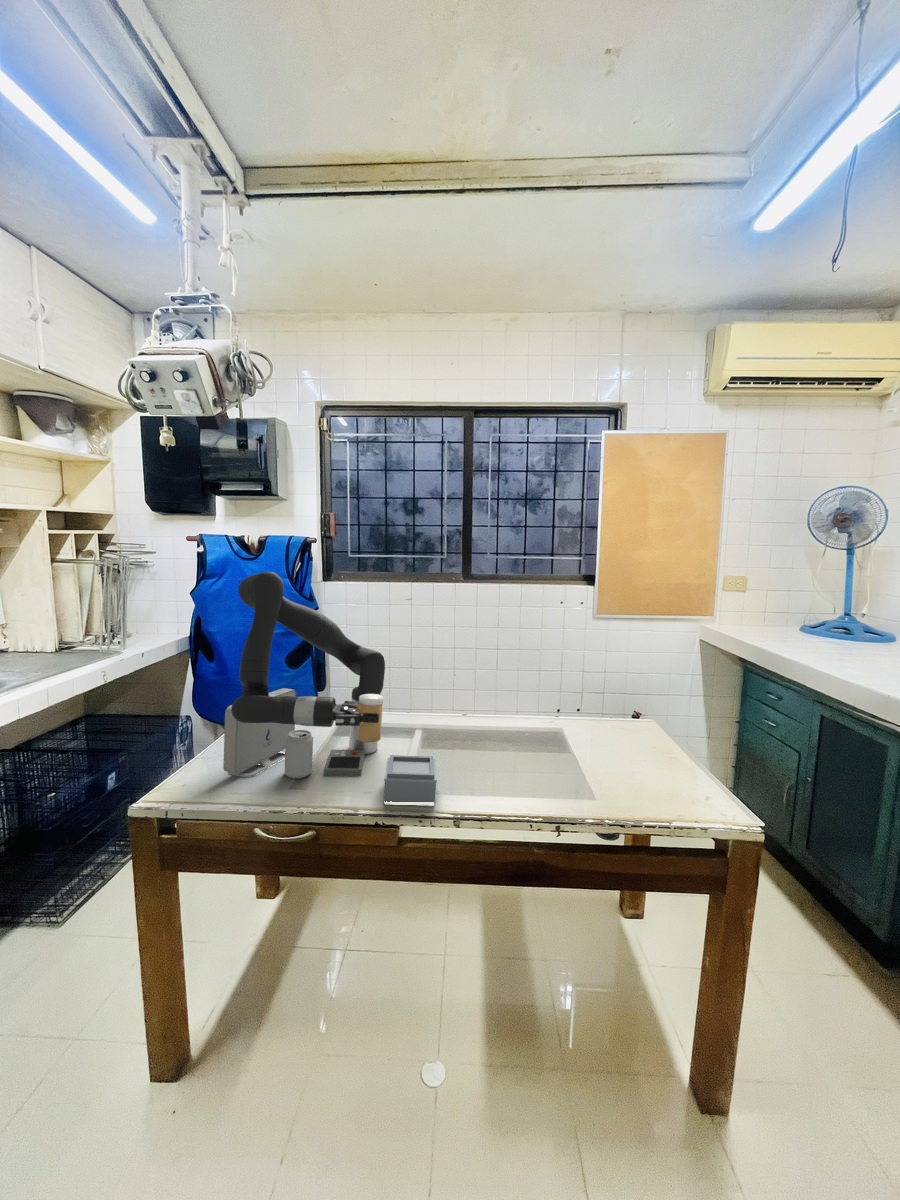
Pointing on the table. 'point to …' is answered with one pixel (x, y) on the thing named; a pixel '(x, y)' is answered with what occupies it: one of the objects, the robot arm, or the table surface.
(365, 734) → the glass of beer
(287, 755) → the can
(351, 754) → the electronic device
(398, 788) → the grey case
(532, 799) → the table surface
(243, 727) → the network device
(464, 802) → the table surface
